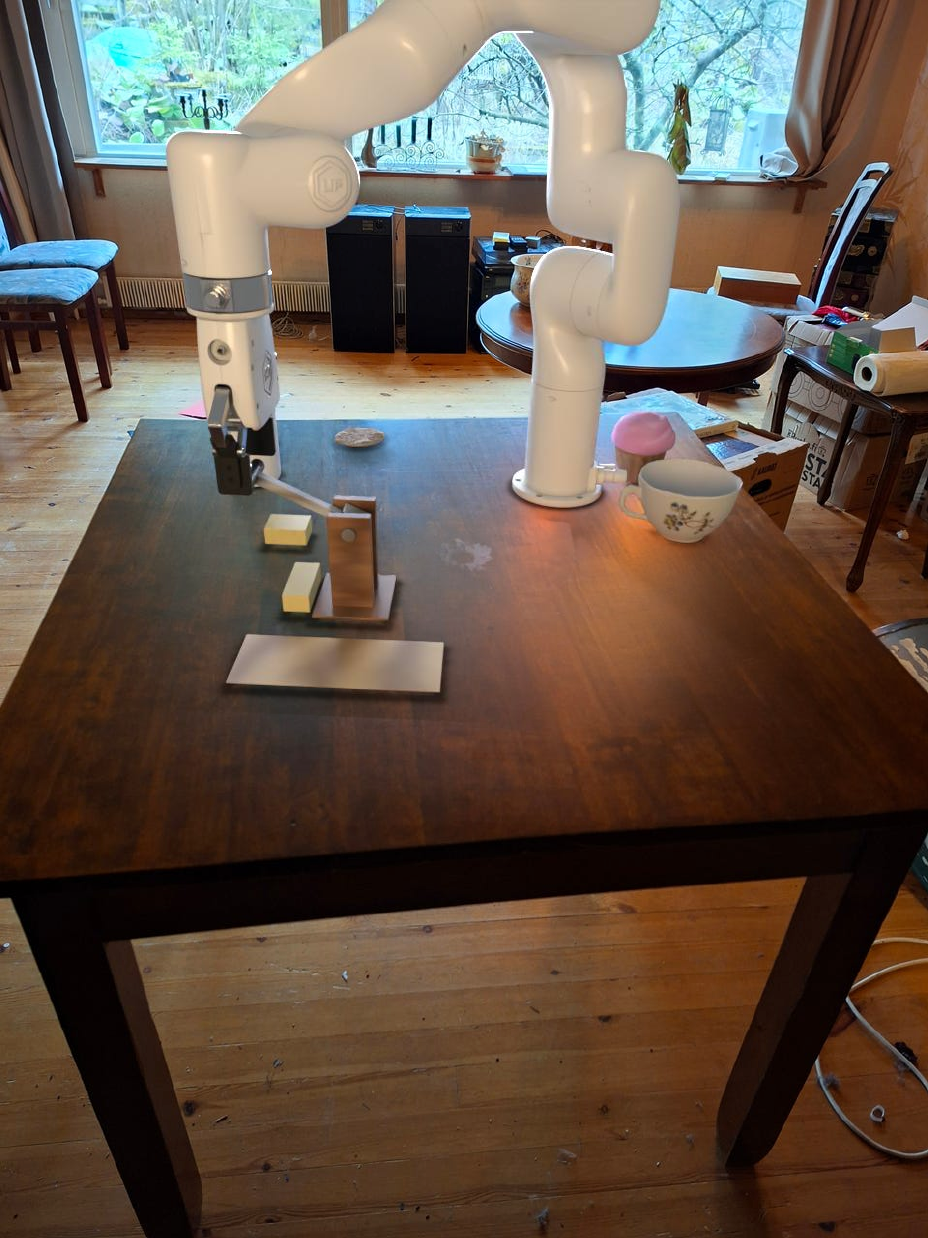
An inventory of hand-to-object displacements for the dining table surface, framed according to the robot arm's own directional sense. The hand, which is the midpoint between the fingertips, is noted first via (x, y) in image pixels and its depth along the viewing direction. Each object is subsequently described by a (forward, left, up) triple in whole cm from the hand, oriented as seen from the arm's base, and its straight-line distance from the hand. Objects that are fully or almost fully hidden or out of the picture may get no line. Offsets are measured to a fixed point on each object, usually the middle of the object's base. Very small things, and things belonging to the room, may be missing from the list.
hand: (248, 473), depth 83 cm
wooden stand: (-10, 0, -15) cm, 18 cm away
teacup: (-48, -20, -15) cm, 54 cm away
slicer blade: (-5, 0, -4) cm, 6 cm away
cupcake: (-46, -37, -15) cm, 61 cm away
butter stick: (-4, 0, -15) cm, 16 cm away
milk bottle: (+9, -32, -15) cm, 37 cm away
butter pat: (0, -13, -15) cm, 20 cm away
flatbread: (-4, -47, -15) cm, 50 cm away
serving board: (-10, +12, -15) cm, 22 cm away
